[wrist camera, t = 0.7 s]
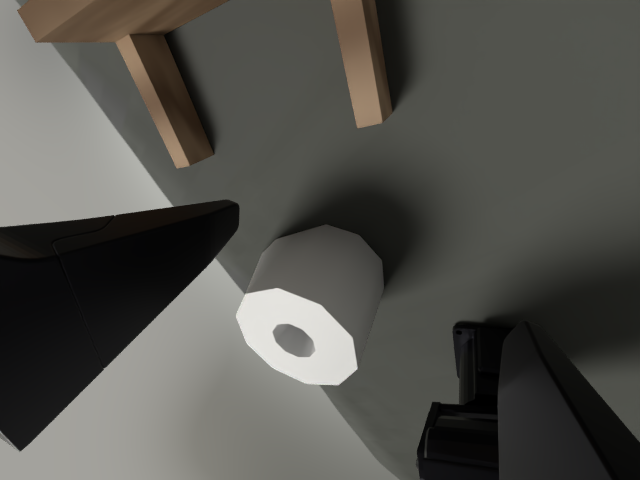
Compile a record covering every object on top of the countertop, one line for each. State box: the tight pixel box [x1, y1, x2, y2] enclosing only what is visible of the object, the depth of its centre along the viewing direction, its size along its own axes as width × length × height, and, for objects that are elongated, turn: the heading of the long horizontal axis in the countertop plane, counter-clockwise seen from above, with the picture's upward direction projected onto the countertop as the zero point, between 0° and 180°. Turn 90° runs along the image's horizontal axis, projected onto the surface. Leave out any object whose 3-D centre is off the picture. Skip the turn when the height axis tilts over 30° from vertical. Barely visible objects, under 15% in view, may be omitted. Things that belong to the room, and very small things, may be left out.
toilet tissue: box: [236, 224, 384, 385], centre depth 26 cm, size 9×13×9 cm
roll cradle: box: [17, 0, 392, 168], centre depth 18 cm, size 10×17×8 cm, turn 107°
